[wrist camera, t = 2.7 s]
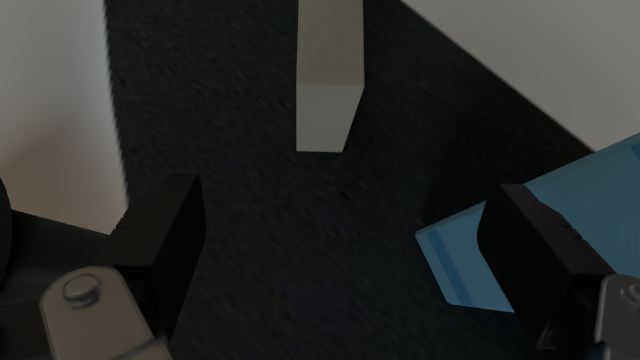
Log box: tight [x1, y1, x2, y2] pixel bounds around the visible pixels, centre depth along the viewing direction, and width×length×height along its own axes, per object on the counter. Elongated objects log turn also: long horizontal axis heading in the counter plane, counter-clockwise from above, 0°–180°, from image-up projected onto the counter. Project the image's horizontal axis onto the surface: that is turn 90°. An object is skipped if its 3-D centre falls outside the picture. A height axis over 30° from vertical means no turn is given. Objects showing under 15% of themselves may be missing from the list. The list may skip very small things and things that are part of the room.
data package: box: [415, 133, 640, 312], centre depth 20 cm, size 12×4×12 cm, turn 113°
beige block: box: [296, 0, 364, 152], centre depth 23 cm, size 3×6×9 cm, turn 179°
